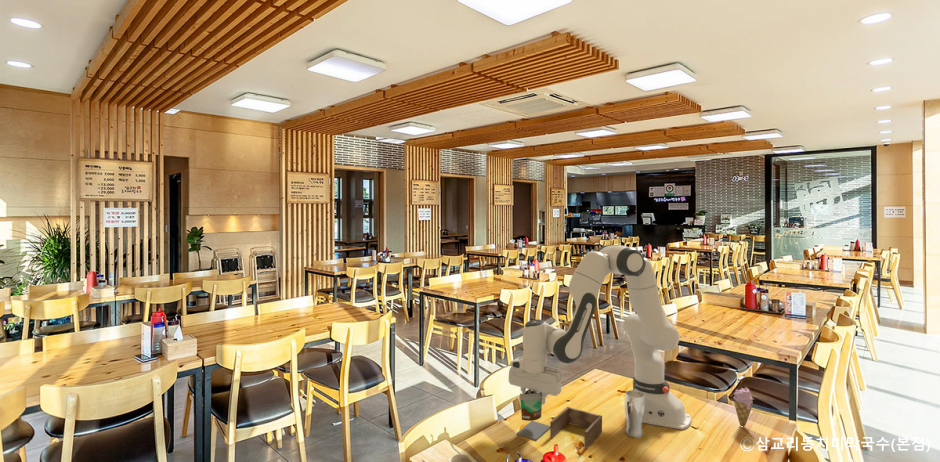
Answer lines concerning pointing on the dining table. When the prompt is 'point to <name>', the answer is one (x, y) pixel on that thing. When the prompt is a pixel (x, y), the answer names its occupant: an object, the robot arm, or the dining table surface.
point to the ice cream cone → (743, 404)
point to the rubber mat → (533, 430)
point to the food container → (531, 405)
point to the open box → (578, 423)
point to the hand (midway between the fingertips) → (534, 401)
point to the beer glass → (634, 413)
